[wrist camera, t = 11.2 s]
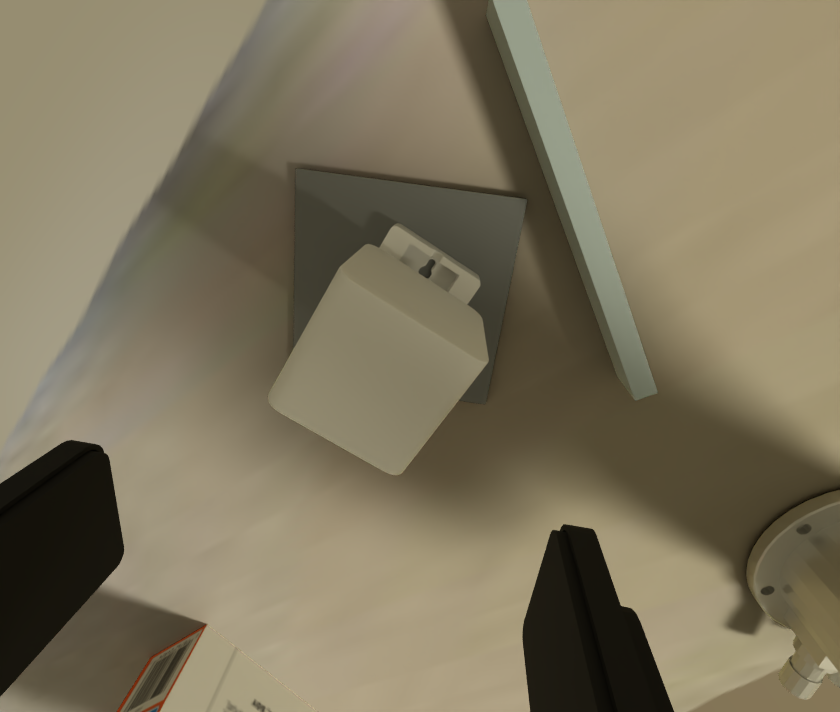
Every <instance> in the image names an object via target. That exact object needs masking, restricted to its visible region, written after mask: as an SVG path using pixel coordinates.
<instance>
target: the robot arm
mask: <svg viewBox="0 0 840 712" xmlns="http://www.w3.org/2000/svg"><path fill="white" fill-rule="evenodd" d="M123 554H124V544H123V538H122V532H121V526H120V520H119V514H118V508H117V502H116V496H115V490H114V484H113V478H112V472H111V467H110V461H109V457H108V455H107V454H105V453H104V451H103V448H102V447H101V446H100V445H96V444H91V443H85V442H79V441H74V440H70V441H65V442H63V443H61V444H60V445H58V446H57V447H55V448H54V449H52V450H51V451H49V452H48V453H46V454H45V455H43V456H42V457H40V458H39V459H37V460H36V461H34V462H33V463H31V464H30V465H28V466H26V467H25V468H23V469H22V470H20V471H19V472H17V473H16V474H14V475H13V476H11V477H10V478H8V479H7V480H5V481H4V482H2V483H1V484H0V696H1V695H2V694H3V693H4V692H5V691H6V690H7V689H8V688H9V686H10V685H11V684H12V683H13V682H14V681H15V680H16V679H17V678H18V676H19V675H20V674H21V673H22V672H23V671H24V670H25V669H26V668H27V666H28V665H29V664H30V663H31V662H32V661H33V660H34V659H35V658H36V656H37V655H38V654H39V653H40V652H41V651H42V650H43V649H44V648H45V646H46V645H47V644H48V643H49V642H50V641H51V640H52V639H53V638H54V636H55V635H56V634H57V633H58V632H59V631H60V630H61V629H62V628H63V626H64V625H65V624H66V623H67V622H68V621H69V620H70V619H71V618H72V616H73V615H74V614H75V613H76V612H77V611H78V610H79V609H80V608H81V606H82V605H83V604H84V603H85V602H86V601H87V600H88V599H89V598H90V596H91V595H92V594H93V593H94V592H95V591H96V590H97V589H98V588H99V586H100V585H101V584H102V583H103V582H104V581H105V580H106V579H107V578H108V576H109V575H110V574H111V573H112V572H113V571H114V570H115V569H116V567H117V566H118V565H119V563H120V561H121V560H122V557H123ZM746 575H747V582H748V586H749V588H750V590H751V593H752V595H753V597H754V598H755V599H756V601H757V602H758V604H759V605H760V606H761V608H762V609H763V611H764V612H765V613H766V614H767V615H768V616H770V617H771V618H772V619H773V620H774V621H776V622H778V623H779V624H781V625H783V626H785V627H787V628H789V629H792V630H793V632H794V633H795V634H796V637H795V639H794V640H793V646H794V648H795V650H796V652H795V653H794V655H792V656H791V657H790V658H789V659H788V660H787V662H786V663H785V665H784V666H783V668H782V669H781V670H780V672H779V673H778V676H779V680H780V682H781V684H782V685H783V687H784V688H786V689H787V690H788V691H789V692H790V693H791V694H793V695H794V696H796V697H798V698H801V699H805V700H806V699H809V698H811V696H812V695H813V694H814V692H815V691H816V690H817V688H818V687H819V686H820V684H821V683H822V679H823V676H824V675H825V674H827V676H828V678H829V679H830V680H831V681H832V682H833V683H834V684H835V685H837V686H838V687H840V490H837V491H833V492H829V493H826V494H823V495H821V496H818V497H815V498H813V499H810V500H808V501H806V502H804V503H802V504H800V505H798V506H797V507H795V508H793V509H791V510H789V511H788V512H787V513H785V514H784V515H783V516H781V517H780V518H778V519H777V520H776V521H775V522H774V523H773V524H772V525H771V526H770V527H769V528H768V529H767V530H766V531H765V532H764V533H763V534H762V535H761V537H760V538H759V540H758V541H757V543H756V544H755V545H754V547H753V549H752V552H751V554H750V557H749V559H748V564H747V571H746ZM523 648H524V657H525V666H526V675H527V685H528V694H529V703H530V712H674V710H673V708H672V705H671V702H670V700H669V697H668V694H667V692H666V689H665V686H664V684H663V681H662V678H661V676H660V673H659V670H658V668H657V665H656V662H655V660H654V657H653V654H652V652H651V649H650V646H649V644H648V641H647V638H646V636H645V633H644V630H643V628H642V625H641V623H640V620H639V618H638V616H637V614H636V613H635V612H634V611H633V610H632V609H631V608H628V607H623V606H621V605H620V602H619V600H618V597H617V594H616V591H615V588H614V585H613V582H612V579H611V576H610V573H609V570H608V568H607V565H606V562H605V559H604V556H603V553H602V550H601V547H600V544H599V541H598V539H597V536H596V533H595V531H594V530H593V529H590V528H584V527H578V526H572V525H566V524H564V525H563V526H562V527H561V529H560V531H556V530H552V532H551V534H550V537H549V540H548V544H547V547H546V550H545V554H544V557H543V560H542V564H541V567H540V570H539V574H538V577H537V580H536V583H535V587H534V590H533V593H532V597H531V600H530V603H529V607H528V610H527V613H526V617H525V620H524V625H523Z"/></svg>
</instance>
